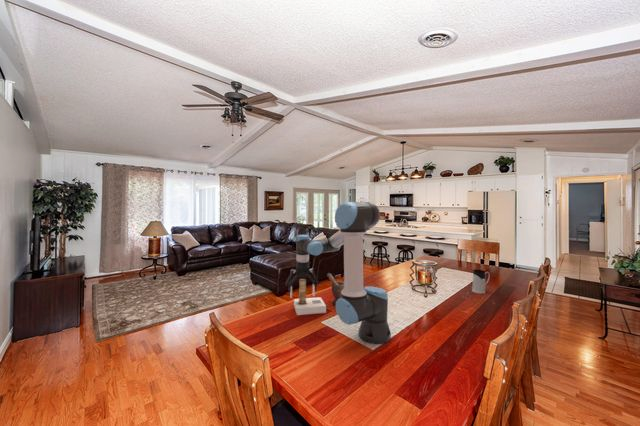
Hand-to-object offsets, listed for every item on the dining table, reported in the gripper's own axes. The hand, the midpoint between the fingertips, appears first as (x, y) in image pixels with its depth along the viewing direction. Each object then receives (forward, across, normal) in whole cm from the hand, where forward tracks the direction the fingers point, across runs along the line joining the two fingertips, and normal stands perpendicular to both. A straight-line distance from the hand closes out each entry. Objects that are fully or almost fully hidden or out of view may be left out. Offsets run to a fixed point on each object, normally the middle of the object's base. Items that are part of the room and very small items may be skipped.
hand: (302, 296), depth 157 cm
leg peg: (+8, 0, 0) cm, 8 cm away
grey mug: (+8, -133, -5) cm, 134 cm away
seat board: (+8, -4, 0) cm, 9 cm away
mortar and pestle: (+8, -22, -4) cm, 24 cm away
